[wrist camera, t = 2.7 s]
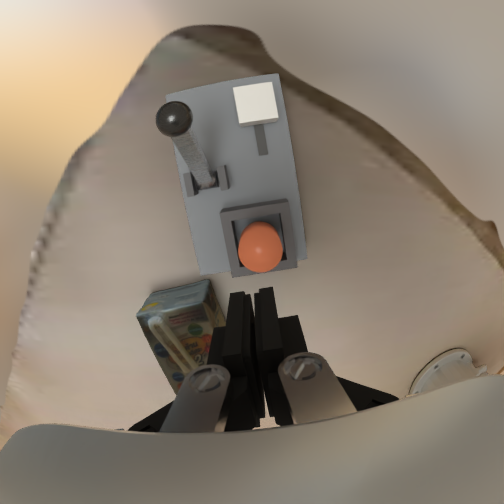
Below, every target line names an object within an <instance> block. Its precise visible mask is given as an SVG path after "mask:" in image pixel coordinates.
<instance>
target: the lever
mask: <svg viewBox="0 0 504 504" xmlns="http://www.w3.org/2000/svg"><path fill="white" fill-rule="evenodd" d="M192 122H193V113H192V111H191V109H190V107H189V106H188V105H186V104H185V103H183V102H180V101H171V102H168V103H166V104H164V105H163V106H162V107H161V108H160V109H159V110H158V112H157V115H156V125H157V128H158V129H159V131H160V132H161V133H162V134H164V135H166V136H169V137H171V139H172V140H173V142H174V144H175V146H176V147H177V149H178V151H179V152H180V154H181V156H182V157H183V159H184V161H185V162H186V164H187V166H188V167H189V169H190V171H191V172H192V174H193V176H194V182H195V187H196V189H197V191H200V190H206V189H211V188H216V187H219V179H218V174H217V171H211V168H210V166H209V164H208V162H207V160H206V158H205V155H204V153H203V151H202V149H201V147H200V145H199V142H198V140H197V138H196V136H195V134H194V131H193V129H192V127H191V125H192Z"/></svg>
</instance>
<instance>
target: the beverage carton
mask: <svg viewBox="0 0 504 504" xmlns="http://www.w3.org/2000/svg"><path fill="white" fill-rule="evenodd" d="M136 317H137V319H138V321H139V323H140V326H141V328H142V330H143V333H144V335H145V337H146V339H147V340H148V343H149V345H150V347H151V349H152V351H153V353H154V355H155V357H156V359H157V361H158V363H159V365H160V367H161V368H162V370H163V372H164V374H165V376H166V377H167V379H168V381H169V383H170V385H171V387H172V388H173V390H174V392H175V394H176V395H177V393H178V391H179V389H180V387H181V385H182V383H183V381H184V379H185V377H186V376H187V374H188V373H190V372H191V371H192V370H194V369H196V368H198V367H200V366H204V365H206V364H207V359H208V354H209V349H210V344H211V339H212V333H213V329H214V328H215V327H221V326H226V321H225V319H224V316H223V314H222V311H221V309H220V306H219V304H218V302H217V300H216V297H215V294H214V292H213V289H212V286H211V283H210V280H208V279H207V280H203V281H200V282H196V283H193V284H189V285H185V286H181V287H176V288H172V289H167V290H163V291H158V292H155V293H152V294H150V296H149V297H148V298H147V299H146V301H145V303H144V305H143V306H142V308H141V309H140V310H139V312H138V313H137V314H136Z"/></svg>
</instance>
